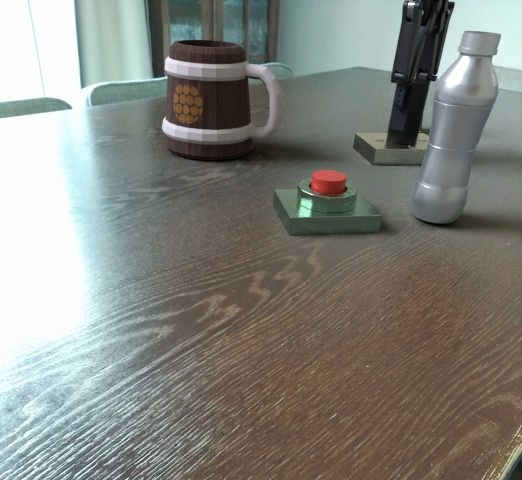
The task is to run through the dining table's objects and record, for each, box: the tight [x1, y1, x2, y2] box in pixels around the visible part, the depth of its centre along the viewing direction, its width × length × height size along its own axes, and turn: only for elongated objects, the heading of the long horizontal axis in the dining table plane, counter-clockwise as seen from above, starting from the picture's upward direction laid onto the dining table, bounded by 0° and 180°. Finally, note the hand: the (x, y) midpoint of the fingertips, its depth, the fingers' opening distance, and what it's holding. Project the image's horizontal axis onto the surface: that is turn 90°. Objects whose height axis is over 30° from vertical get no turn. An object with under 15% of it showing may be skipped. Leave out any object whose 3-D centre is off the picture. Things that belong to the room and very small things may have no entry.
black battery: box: [386, 78, 431, 144], centre depth 80 cm, size 5×5×9 cm
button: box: [311, 169, 348, 194], centre depth 58 cm, size 4×4×2 cm
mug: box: [161, 39, 284, 161], centre depth 77 cm, size 20×15×15 cm
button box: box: [272, 177, 383, 236], centre depth 60 cm, size 11×9×4 cm
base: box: [352, 132, 429, 166], centre depth 84 cm, size 13×10×3 cm
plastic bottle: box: [409, 30, 502, 224], centre depth 56 cm, size 6×7×20 cm
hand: (404, 126), depth 82 cm, fingers closed on black battery, 5 cm apart
